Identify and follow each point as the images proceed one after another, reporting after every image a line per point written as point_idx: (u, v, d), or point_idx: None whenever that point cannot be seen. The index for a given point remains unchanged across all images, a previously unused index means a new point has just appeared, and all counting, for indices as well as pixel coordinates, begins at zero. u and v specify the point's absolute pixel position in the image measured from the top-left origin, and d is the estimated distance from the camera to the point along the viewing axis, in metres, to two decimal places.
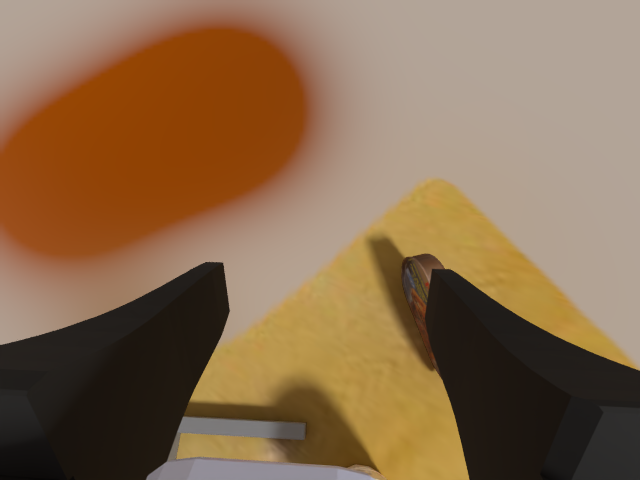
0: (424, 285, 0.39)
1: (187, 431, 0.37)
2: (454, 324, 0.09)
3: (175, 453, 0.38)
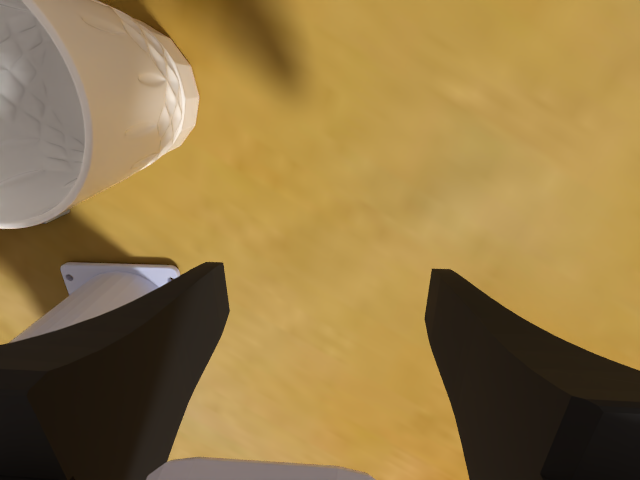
0: None
1: None
2: (454, 324, 0.09)
3: None
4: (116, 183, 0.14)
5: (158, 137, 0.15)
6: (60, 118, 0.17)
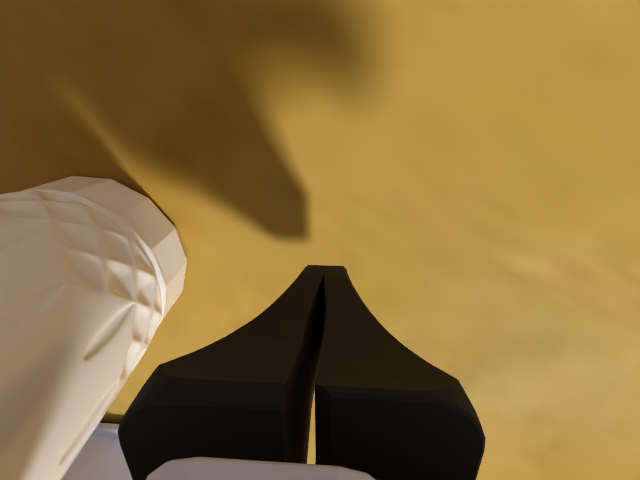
0: None
1: None
2: None
3: None
4: None
5: (124, 380, 0.11)
6: None
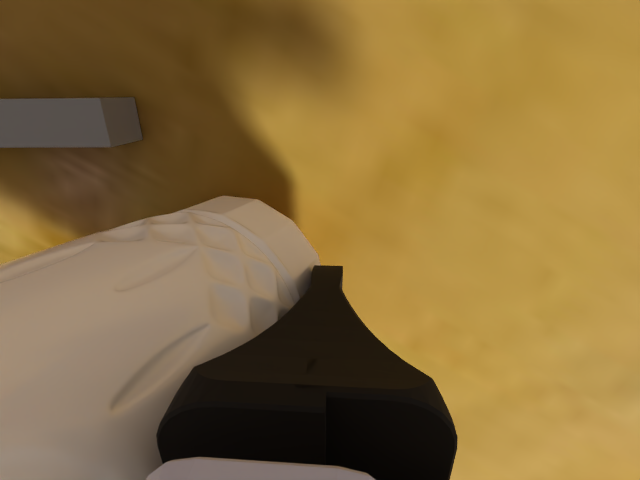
0: None
1: None
2: None
3: None
4: None
5: None
6: None
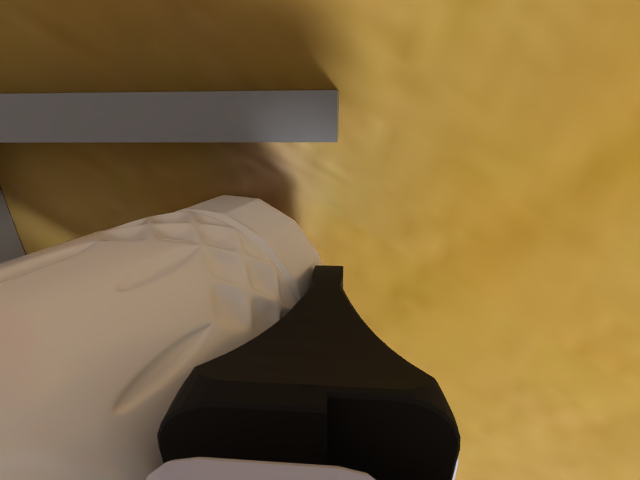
0: None
1: None
2: None
3: None
4: None
5: None
6: None
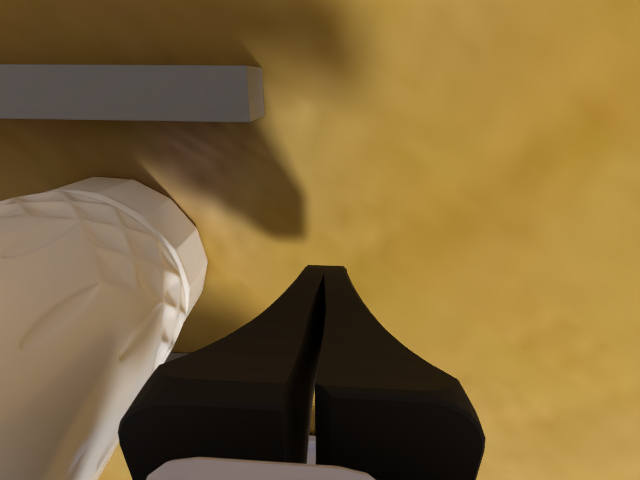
0: None
1: None
2: None
3: None
4: None
5: None
6: None
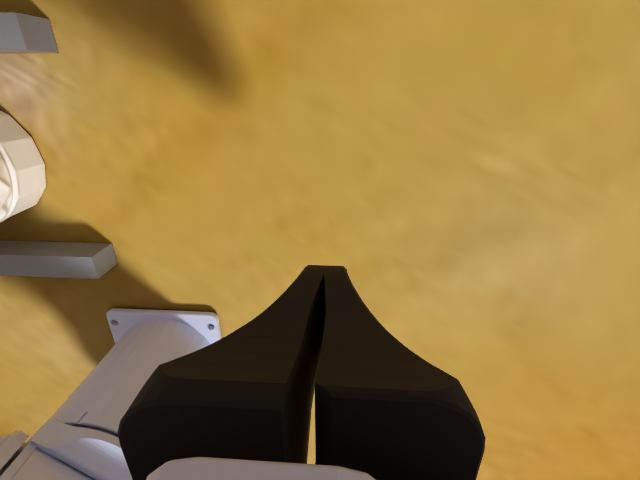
0: None
1: None
2: None
3: None
4: None
5: None
6: None
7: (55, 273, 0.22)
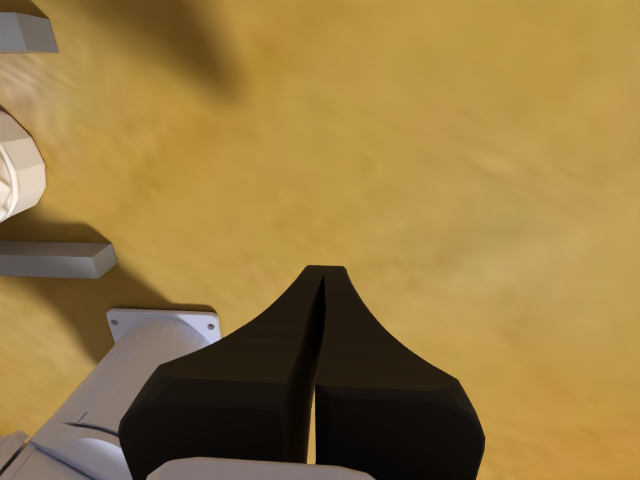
0: None
1: None
2: None
3: None
4: None
5: None
6: None
7: (55, 273, 0.22)
